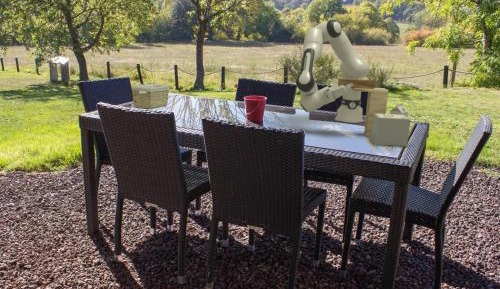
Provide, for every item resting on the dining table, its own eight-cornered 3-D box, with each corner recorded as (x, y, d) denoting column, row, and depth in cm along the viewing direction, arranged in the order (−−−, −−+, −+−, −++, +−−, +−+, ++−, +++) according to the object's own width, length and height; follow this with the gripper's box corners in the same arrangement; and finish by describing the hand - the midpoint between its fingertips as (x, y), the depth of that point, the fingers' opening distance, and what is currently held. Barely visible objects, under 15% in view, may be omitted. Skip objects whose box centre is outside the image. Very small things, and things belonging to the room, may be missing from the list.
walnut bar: (337, 86, 257) (338, 78, 256) (372, 88, 256) (373, 80, 255) (338, 87, 253) (339, 79, 252) (373, 89, 252) (374, 80, 251)
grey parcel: (370, 139, 250) (373, 113, 246) (401, 141, 249) (404, 115, 245) (375, 144, 238) (378, 118, 235) (407, 146, 237) (410, 119, 234)
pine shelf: (348, 132, 265) (352, 86, 259) (379, 133, 264) (384, 88, 258) (350, 135, 256) (354, 88, 250) (383, 137, 256) (388, 90, 249)
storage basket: (151, 103, 337) (151, 82, 334) (170, 105, 331) (170, 84, 328) (131, 107, 316) (130, 86, 312) (151, 110, 310) (151, 88, 306)
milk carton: (386, 137, 256) (390, 103, 251) (393, 135, 261) (397, 102, 256) (398, 140, 251) (402, 105, 246) (405, 138, 256) (409, 104, 251)
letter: (375, 114, 246) (375, 113, 246) (402, 115, 245) (402, 114, 245) (380, 117, 235) (380, 117, 235) (408, 119, 234) (408, 118, 234)
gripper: (329, 96, 267) (351, 85, 265) (333, 102, 247) (356, 90, 245) (324, 87, 266) (346, 75, 263) (327, 91, 246) (351, 79, 244)
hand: (351, 82), depth 254 cm, fingers open, 8 cm apart
